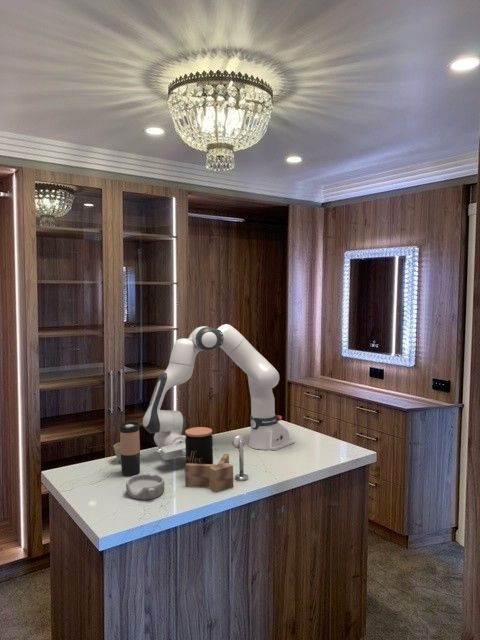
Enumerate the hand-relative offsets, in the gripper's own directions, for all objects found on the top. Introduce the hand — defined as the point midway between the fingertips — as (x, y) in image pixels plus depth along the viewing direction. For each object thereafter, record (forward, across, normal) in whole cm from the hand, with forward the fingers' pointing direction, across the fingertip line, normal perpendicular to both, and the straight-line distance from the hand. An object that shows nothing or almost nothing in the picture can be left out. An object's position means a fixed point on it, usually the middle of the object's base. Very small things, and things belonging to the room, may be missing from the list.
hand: (193, 454), depth 195 cm
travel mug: (-14, -21, +7) cm, 26 cm away
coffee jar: (+5, 0, +7) cm, 9 cm away
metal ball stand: (+18, +11, +7) cm, 22 cm away
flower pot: (-29, -17, +7) cm, 34 cm away
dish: (+7, -24, +7) cm, 26 cm away
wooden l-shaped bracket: (+16, 0, +7) cm, 17 cm away
